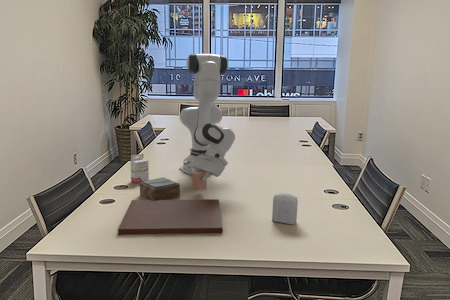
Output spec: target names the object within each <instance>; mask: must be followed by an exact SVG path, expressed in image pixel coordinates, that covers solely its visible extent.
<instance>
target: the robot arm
mask: <svg viewBox="0 0 450 300" xmlns="http://www.w3.org/2000/svg"><path fill="white" fill-rule="evenodd" d="M228 62H229V61H228V59H227V57H226V56H225V55H223V54H215V53H191V54H189V56H188V57H187V59H186V69H187V71H188V72H189V73H190V74H192V75H194V81H193V93H192V94H193V97H194V99H196V101H198V106H190V107H185V108H182V109H181V111H180V114H179V120H180V122H181V124H182V125H183V126H185V127H186V128H187V129H188V131H189V133H190V136H191V146H192V147H191V148H190V149H189V152H190V153H189V155H188V156H186V157H184V159H183V163H182V165H181V166H179V170H180V171H182V172H184V173H186V174H187V175H192V173H193V172H197V171H202V172H205V173H206V175H205V176H202V178H201V180H202V181H205V180H206V179H208V178H210V177H211V176H212V177H213V176H214V177H215V178H218V177H220V176H221V175H222V174H223V172H224V170H225V168H226V167H227V166H228V164H229V163H228V161H227V160H226V158H225V156H226V154H227V152H229V151H230V149H231V148H232V146H233V144H234V142H235V141H236V134H235V133H234V131H233V130H232V129H231V128H229V127H222V126H219V125H218V124H220V123H221V121H222V119H223V112H222V110H221V108H220V107H219V106H217V104H216V101H217V100H218V98H219V96H220V91H221V76H223V75H225V74H226V73H227V71H228V68H229V63H228Z"/></svg>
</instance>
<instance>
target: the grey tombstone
mask: <svg viewBox="0 0 450 300" xmlns="http://www.w3.org/2000/svg"><path fill="white" fill-rule="evenodd" d="M298 200H299V199H298V196H296V195H293V194H291V193H287V192H286V193H285V192H279V193H275V194H274V195H273V198H272V214H271V221H272V222H276V223H281V224H288V225H296V224H297V219H298V218H297V217H298V204H299V203H298Z"/></svg>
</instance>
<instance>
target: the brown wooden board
mask: <svg viewBox="0 0 450 300" xmlns="http://www.w3.org/2000/svg"><path fill="white" fill-rule="evenodd" d="M222 220H223V219H222V212H221V204H220V199H217V198H216V199H215V198H214V199H213V198H212V199H209V198H208V199H168V200H149V199H133V200H131V201H130V203H129V205H128V207H127V210H126V211H125V213H124V215H123V217H122V220H121V222H120V223H119V226H118V228H117V235H118V236H124V235H125V236H126V235H127V236H129V235H130V236H131V235H132V236H133V235H134V236H136V235H137V236H139V235H193V234H194V235H195V234H196V235H197V234H199V235H200V234H203V235H205V234H206V235H207V234H224V232H223V231H224V229H223V221H222Z"/></svg>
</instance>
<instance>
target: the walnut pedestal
mask: <svg viewBox="0 0 450 300" xmlns="http://www.w3.org/2000/svg"><path fill="white" fill-rule="evenodd" d="M180 186H181V184H180V183H178V182H176V181H174V180H171V179H169V178H166V177H164V176H163V177H159V178H153V179H150V180H148V181H143V182H140V183H139V195H140V196H141V197H143V198H144V199H146V200H173V199H175V198H180V197H181V187H180Z"/></svg>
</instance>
